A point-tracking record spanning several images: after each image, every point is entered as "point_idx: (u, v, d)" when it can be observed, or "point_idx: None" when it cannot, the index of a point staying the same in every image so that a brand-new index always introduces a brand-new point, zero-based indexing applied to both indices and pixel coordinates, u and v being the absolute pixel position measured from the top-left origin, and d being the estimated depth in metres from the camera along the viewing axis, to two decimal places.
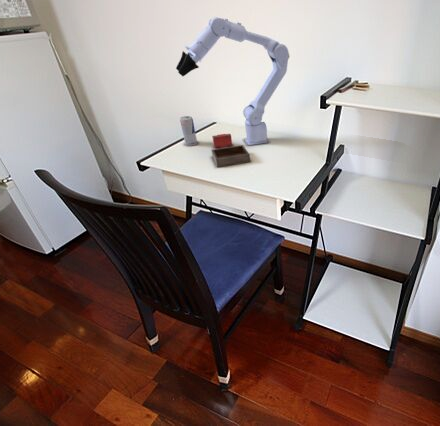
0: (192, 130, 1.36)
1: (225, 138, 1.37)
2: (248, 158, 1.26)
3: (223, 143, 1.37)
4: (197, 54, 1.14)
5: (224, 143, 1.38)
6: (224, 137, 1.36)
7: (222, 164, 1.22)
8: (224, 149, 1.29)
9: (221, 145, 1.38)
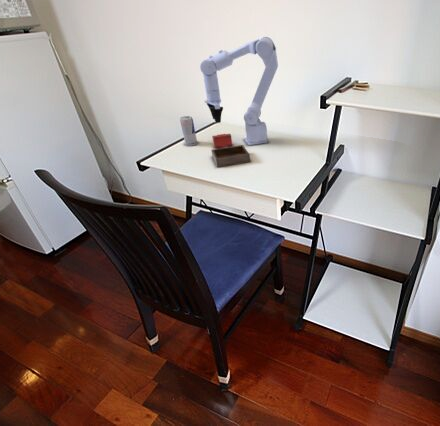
0: (192, 130, 1.36)
1: (225, 138, 1.37)
2: (248, 158, 1.26)
3: (223, 143, 1.37)
4: (215, 100, 1.32)
5: (224, 143, 1.38)
6: (224, 137, 1.36)
7: (222, 164, 1.22)
8: (224, 149, 1.29)
9: (221, 145, 1.38)
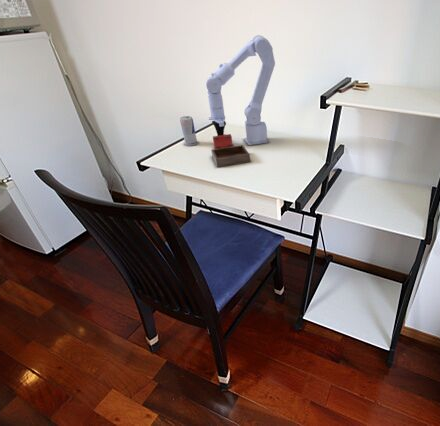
0: (192, 130, 1.36)
1: (225, 139, 1.36)
2: (248, 158, 1.26)
3: (223, 143, 1.37)
4: (219, 117, 1.32)
5: (224, 144, 1.37)
6: (224, 138, 1.36)
7: (222, 164, 1.22)
8: (224, 149, 1.29)
9: (221, 146, 1.37)
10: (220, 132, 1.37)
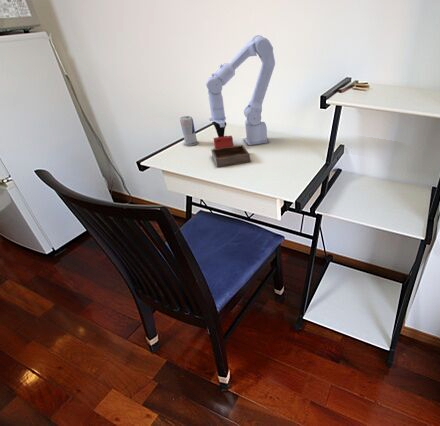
0: (192, 130, 1.36)
1: (226, 140, 1.35)
2: (248, 158, 1.26)
3: (224, 145, 1.35)
4: (220, 118, 1.31)
5: (225, 145, 1.36)
6: (225, 139, 1.34)
7: (222, 164, 1.22)
8: (224, 149, 1.29)
9: (222, 147, 1.36)
10: (220, 133, 1.37)
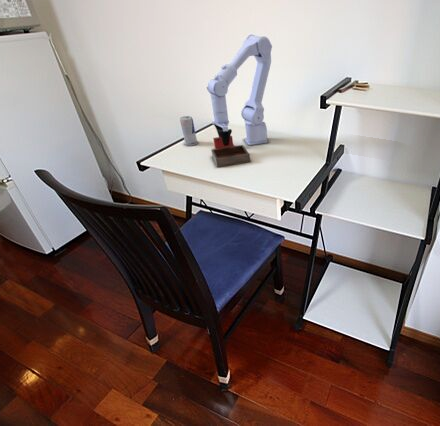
0: (192, 130, 1.36)
1: None
2: (248, 158, 1.26)
3: None
4: (223, 121, 1.26)
5: None
6: None
7: (222, 164, 1.22)
8: (224, 149, 1.29)
9: (222, 147, 1.36)
10: (225, 140, 1.29)
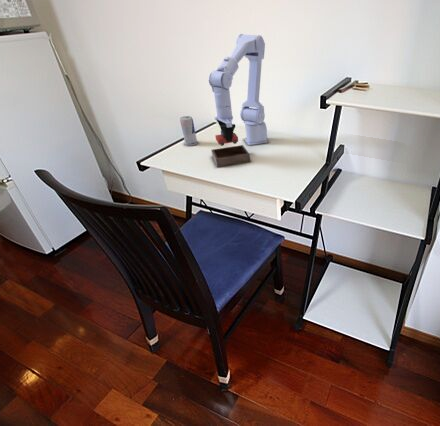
0: (192, 130, 1.36)
1: None
2: (248, 158, 1.26)
3: None
4: (226, 117, 1.17)
5: None
6: None
7: (222, 164, 1.22)
8: (224, 149, 1.29)
9: None
10: (228, 136, 1.20)
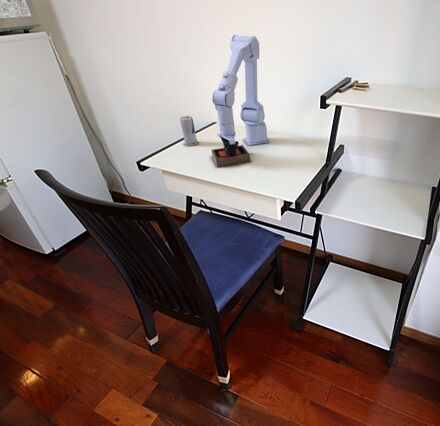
0: (192, 130, 1.36)
1: None
2: (248, 158, 1.26)
3: None
4: (229, 133, 1.19)
5: None
6: None
7: (222, 164, 1.22)
8: None
9: None
10: (232, 152, 1.22)
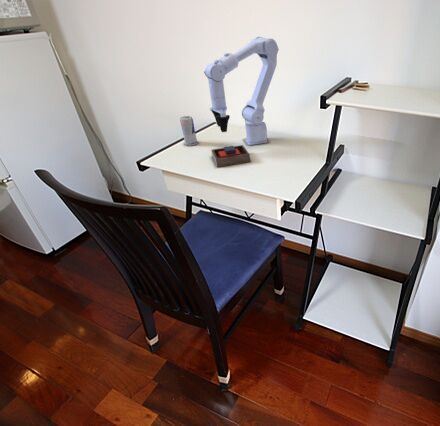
0: (192, 130, 1.36)
1: None
2: (248, 158, 1.26)
3: None
4: (221, 107, 1.23)
5: None
6: None
7: (222, 164, 1.22)
8: None
9: None
10: (223, 126, 1.27)
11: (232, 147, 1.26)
